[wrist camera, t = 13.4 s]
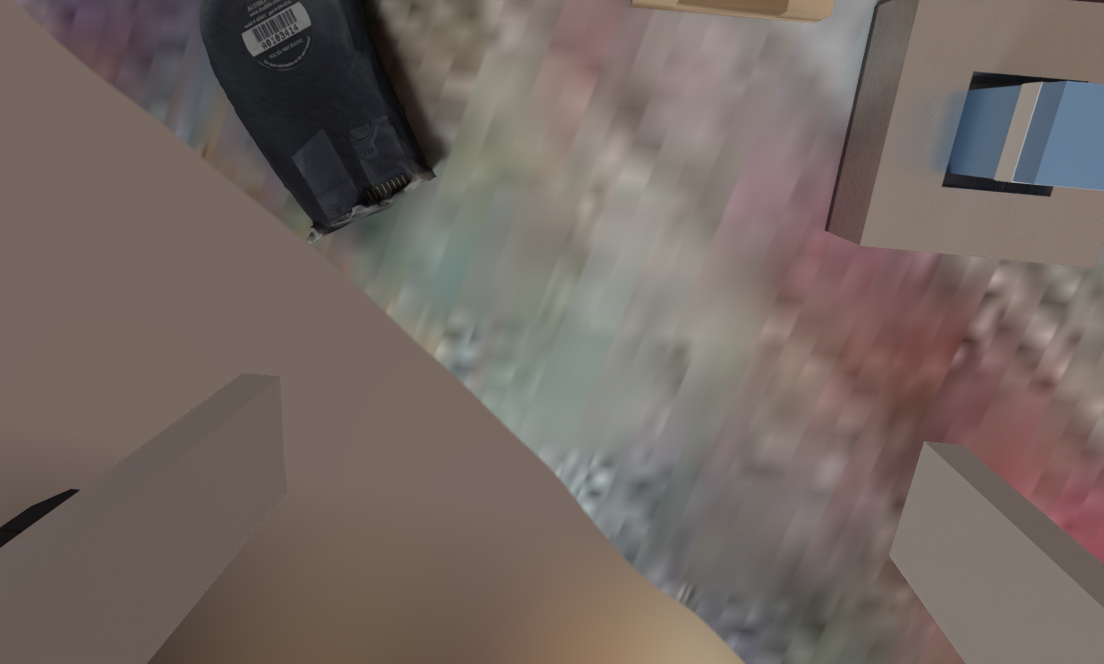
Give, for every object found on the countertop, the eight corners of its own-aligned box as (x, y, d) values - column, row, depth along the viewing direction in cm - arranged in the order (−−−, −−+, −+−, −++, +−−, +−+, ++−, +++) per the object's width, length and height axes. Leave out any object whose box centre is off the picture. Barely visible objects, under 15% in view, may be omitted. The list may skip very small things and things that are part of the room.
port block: (874, 7, 34) (926, -15, 28) (1101, 26, 33) (1195, 8, 28) (824, 230, 37) (862, 247, 32) (1028, 249, 37) (1099, 269, 32)
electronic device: (459, 164, 39) (319, -96, 33) (435, 189, 34) (266, -110, 28) (341, 222, 42) (191, -8, 36) (303, 253, 37) (123, -7, 31)
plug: (932, 92, 34) (1066, 79, 25) (1008, 99, 34) (1171, 88, 25) (912, 169, 36) (1032, 185, 26) (985, 176, 35) (1132, 194, 26)
